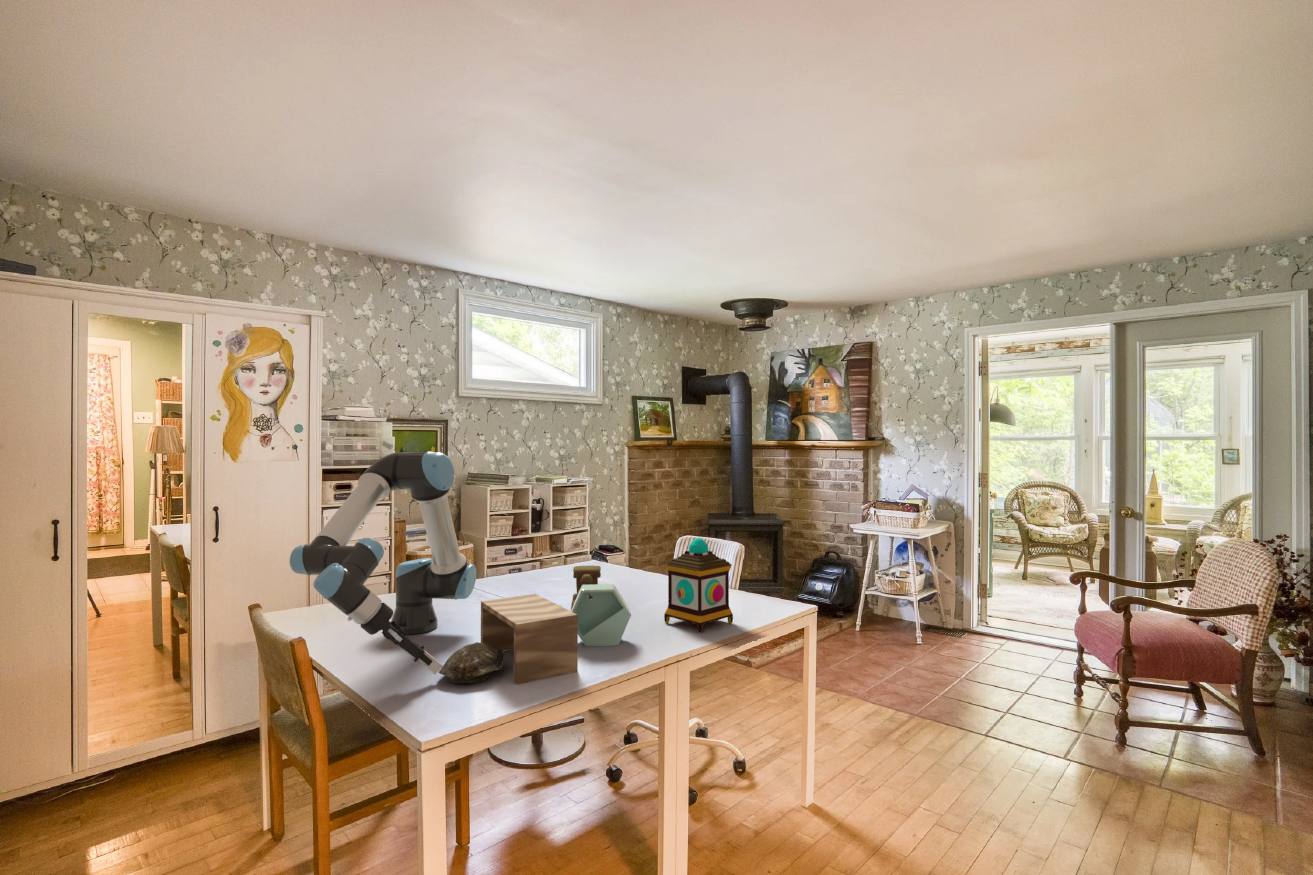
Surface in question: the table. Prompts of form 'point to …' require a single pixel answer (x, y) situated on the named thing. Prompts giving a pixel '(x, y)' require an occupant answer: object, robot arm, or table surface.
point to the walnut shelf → (532, 635)
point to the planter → (601, 615)
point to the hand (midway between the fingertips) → (438, 669)
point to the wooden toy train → (585, 578)
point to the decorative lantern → (698, 586)
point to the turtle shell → (473, 663)
